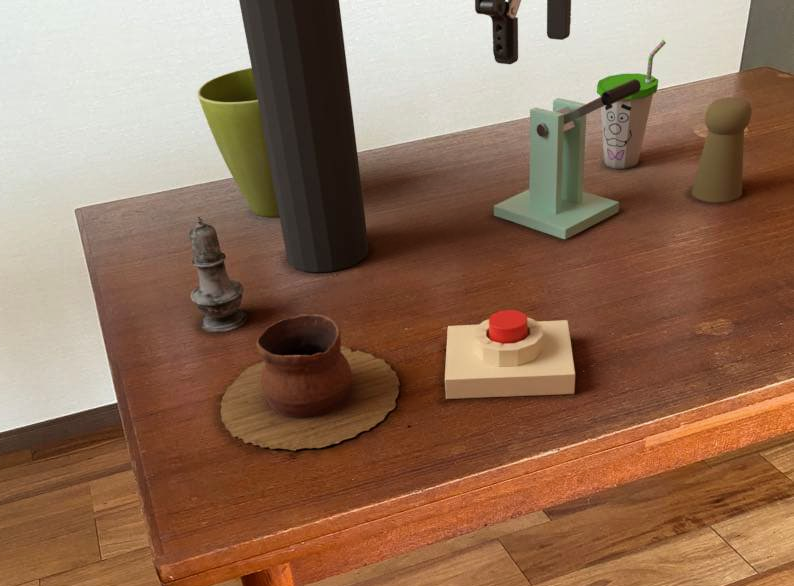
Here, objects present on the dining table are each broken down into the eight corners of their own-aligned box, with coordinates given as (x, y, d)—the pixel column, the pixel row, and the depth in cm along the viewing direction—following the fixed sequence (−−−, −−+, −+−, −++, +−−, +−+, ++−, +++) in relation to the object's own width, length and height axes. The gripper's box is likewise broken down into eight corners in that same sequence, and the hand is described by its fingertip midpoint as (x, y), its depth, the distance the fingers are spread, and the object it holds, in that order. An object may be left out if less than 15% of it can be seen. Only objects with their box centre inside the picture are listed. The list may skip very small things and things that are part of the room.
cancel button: (526, 325, 86) (526, 308, 84) (528, 344, 83) (528, 327, 82) (489, 327, 86) (488, 310, 85) (489, 346, 83) (488, 329, 82)
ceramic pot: (383, 454, 79) (374, 387, 74) (195, 450, 82) (175, 386, 77) (412, 348, 91) (406, 285, 87) (249, 348, 95) (234, 287, 90)
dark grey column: (316, 232, 115) (274, -38, 95) (383, 242, 111) (353, -38, 91) (271, 266, 109) (215, -15, 89) (340, 278, 105) (297, -14, 85)
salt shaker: (251, 328, 98) (227, 223, 90) (198, 337, 98) (169, 232, 90) (248, 304, 102) (225, 201, 94) (198, 312, 102) (170, 210, 94)
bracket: (618, 212, 111) (627, 103, 102) (565, 240, 106) (569, 128, 98) (546, 190, 118) (548, 86, 109) (493, 215, 114) (491, 110, 105)
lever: (643, 94, 97) (637, 72, 96) (614, 107, 95) (607, 84, 94) (567, 130, 107) (560, 110, 107) (539, 143, 105) (532, 122, 105)
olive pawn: (733, 205, 109) (748, 110, 102) (684, 198, 112) (696, 106, 104) (748, 186, 112) (764, 94, 105) (701, 180, 115) (713, 90, 108)
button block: (566, 339, 90) (568, 303, 87) (574, 394, 83) (576, 356, 80) (448, 344, 91) (446, 309, 89) (446, 399, 84) (443, 362, 81)
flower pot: (292, 236, 115) (268, 105, 104) (203, 222, 122) (173, 98, 111) (351, 191, 124) (335, 67, 113) (266, 181, 131) (243, 62, 120)
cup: (582, 169, 122) (588, 49, 112) (607, 149, 126) (614, 32, 116) (636, 176, 118) (647, 53, 108) (659, 156, 123) (672, 35, 113)
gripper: (520, -155, 68) (521, 76, 78) (618, -182, 75) (607, 33, 86) (444, -151, 72) (455, 68, 83) (544, -177, 79) (542, 27, 90)
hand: (533, 50), depth 84 cm, fingers open, 8 cm apart
